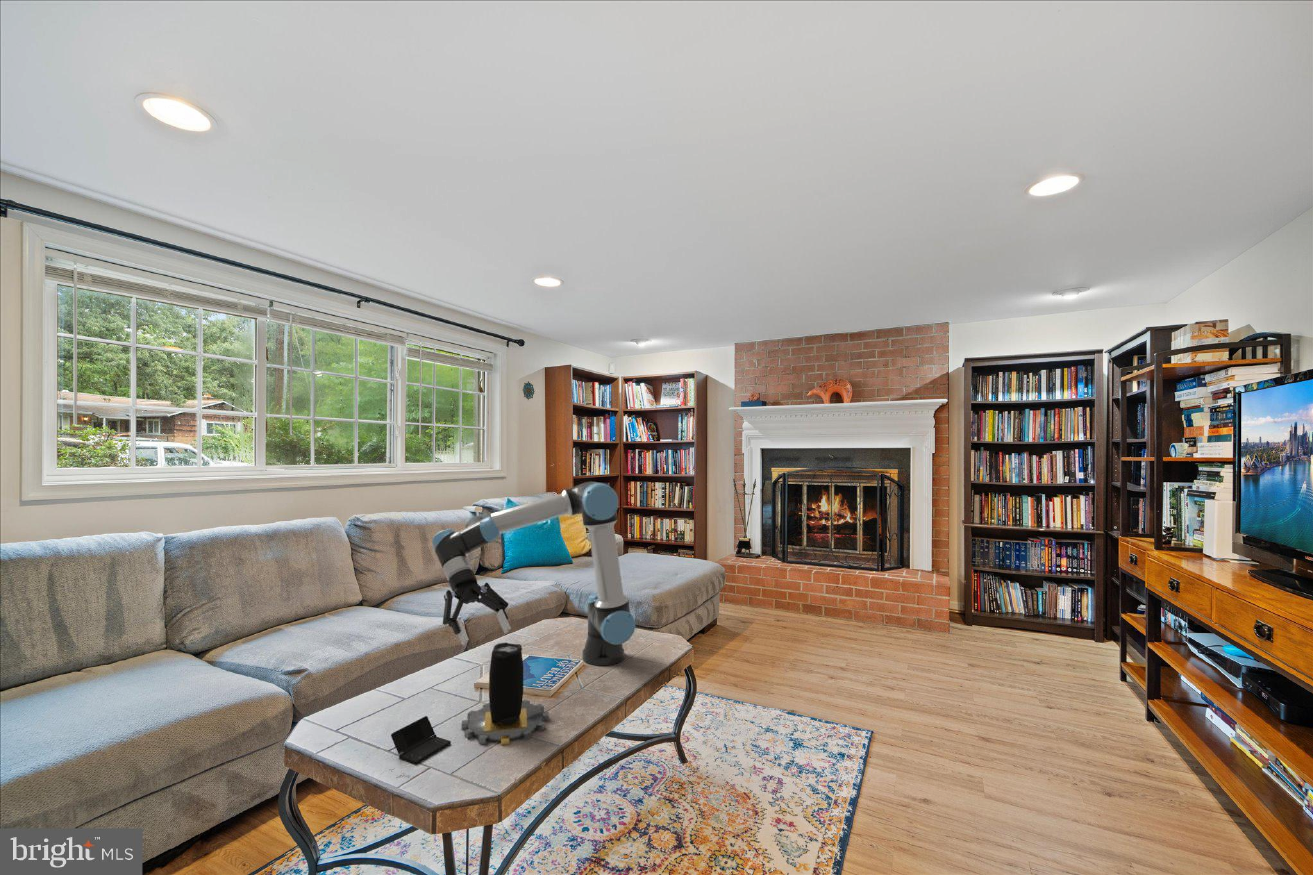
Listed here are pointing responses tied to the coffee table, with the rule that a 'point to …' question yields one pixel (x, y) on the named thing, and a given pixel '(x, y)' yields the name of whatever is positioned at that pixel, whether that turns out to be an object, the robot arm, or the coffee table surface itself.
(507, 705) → the portable speaker
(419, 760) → the handheld gaming console
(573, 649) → the coffee table surface
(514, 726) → the sprocket plate
